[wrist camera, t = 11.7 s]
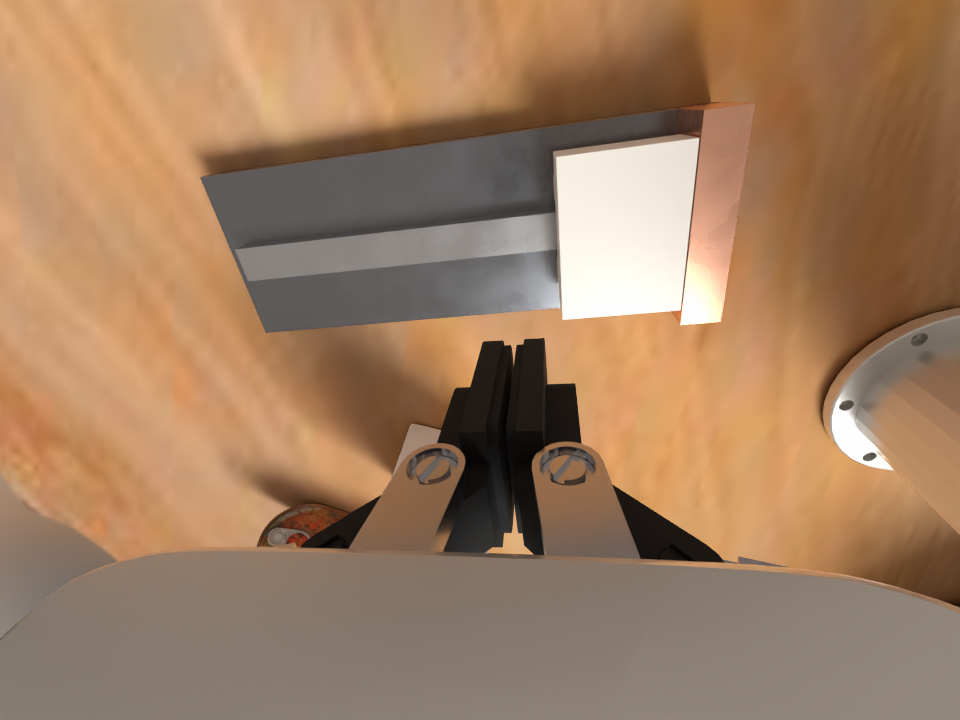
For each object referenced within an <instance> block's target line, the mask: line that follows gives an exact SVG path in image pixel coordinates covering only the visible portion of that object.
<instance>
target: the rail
mask: <svg viewBox="0 0 960 720" xmlns="http://www.w3.org/2000/svg"><path fill="white" fill-rule="evenodd" d="M755 105H756V103H704V104H697V105H690V106H683V107H676V108H669V109H662V110H655V111H649V112H642V113H635V114H628V115H621V116H614V117H607V118H600V119H593V120H586V121H579V122H572V123H565V124H558V125H551V126H544V127H537V128H530V129H523V130H516V131H509V132H502V133H495V134H488V135H481V136H474V137H468V138H461V139H454V140H447V141H440V142H433V143H426V144H419V145H412V146H405V147H398V148H391V149H384V150H377V151H370V152H363V153H356V154H349V155H342V156H335V157H328V158H321V159H314V160H307V161H300V162H293V163H287V164H280V165H273V166H266V167H259V168H252V169H245V170H238V171H231V172H224V173H217V174H212V175H208V176H204V177H200V178H201V180H202V183H203V185H204V187H205V190H206V192H207V195H208V197H209V199H210V202H211V204H212V206H213V209H214V211H215V213H216V216H217V218H218V221H219V223H220V225H221V228H222V230H223V232H224V235H225V237H226V239H227V242H228V244H229V247H230V249H231V251H232V254H233V256H234V258H235V261H236V263H237V265H238V268H239V270H240V272H241V275H242V277H243V280H244V282H245V284H246V287H247V289H248V291H249V294H250V296H251V298H252V301H253V303H254V306H255V308H256V310H257V313H258V315H259V317H260V320H261V322H262V324H263V327H264V329H265V331H266V333H269V332H281V331H293V330H305V329H316V328H328V327H340V326H352V325H364V324H376V323H387V322H399V321H411V320H423V319H435V318H446V317H458V316H470V315H482V314H494V313H506V312H517V311H529V310H541V309H553V308H561V307H560V302H559V281H558V276H557V233H556V210H555V200H554V186H553V174H554V164H553V151H560V150H567V149H575V148H582V147H589V146H597V145H604V144H612V143H619V142H626V141H634V140H641V139H649V138H656V137H663V136H671V135H678V134H683V135H688V136H692V137H697V138H699V146H698V155H697V164H696V173H695V183H694V192H693V201H692V210H691V220H690V229H689V238H688V247H687V257H686V266H685V275H684V284H683V294H682V303H681V310H679V311H671V312H672V313H673V315H674V316H675V318H676V319H677V320H678V322H679V323H680V325H686V324H699V323H712V322H721V316H722V310H723V304H724V298H725V291H726V285H727V279H728V273H729V267H730V260H731V254H732V248H733V242H734V235H735V229H736V223H737V217H738V211H739V204H740V198H741V192H742V186H743V179H744V173H745V167H746V161H747V154H748V148H749V142H750V136H751V130H752V123H753V117H754V111H755Z"/></svg>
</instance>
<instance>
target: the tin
mask: <svg viewBox="0 0 960 720" xmlns="http://www.w3.org/2000/svg"><path fill="white" fill-rule="evenodd" d="M348 514H350V513H347V512H344V511H341V510H338V509H335V508H332V507H329V506H326V505H322V504H302V505H298V506H294V507H292V508H289V509H287V510H285V511H283V512H282V513H280V514H279V515H277V516H276V517H275V518H274V519H273V520H271V521H270V523H269V524H268V525H267V526H266V528H265V529H264V530H263V532H262V534H261V536H260V538H259V541H258V544H257V547H274V546H279V545H285V544H290V543H295V544H296V546H297V548H300V547H301V545H302V544H303V543H304V542H305V541H307V540H308V539H309V538H311V537H312V536H313V535H315V534H316V533H318V532H320V531H321V530H323V529H325V528H326V527H328V526H330V525H331V524H333V523H335V522H337V521H338V520H340V519H342V518H343V517H345V516H347V515H348Z"/></svg>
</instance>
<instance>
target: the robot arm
mask: <svg viewBox="0 0 960 720" xmlns="http://www.w3.org/2000/svg"><path fill="white" fill-rule="evenodd" d="M823 422H824V428H825V430H826V432H827V434H828V436H829V438H830V439H831V440H832V441H833V442H834V444H835V445H836V446H837V447H838V448H839V449H840V451H842V452H843V453H844V454H845V455H847V456H848V457H849V458H850V459H852V460H854V461H856V462H858V463H860V464H863V465H866V466H870V467H874V468H878V469H887V470H895V471H896V472H897V473H898V474H899V475H900V476H901V477H902V478H903V479H904V480H905V481H906V482H907V483H908V484H909V485H910V486H911V487H912V488H913V489H914V490H915V491H916V492H917V493H918V494H919V495H920V496H921V497H922V498H923V499H924V500H925V501H926V502H927V503H928V504H929V505H930V506H931V507H932V508H933V509H934V510H935V511H936V512H937V513H938V514H939V515H940V516H941V517H942V518H943V519H944V520H945V521H946V522H947V523H948V524H949V525H950V526H951V527H952V528H953V529H954V530H955V531H956V532H957V533H958V534H959V535H960V308H955V309H950V310H945V311H941V312H936V313H932V314H929V315H926V316H924V317H921V318H918V319H915V320H912V321H910V322H908V323H905V324H903V325H901V326H899V327H897V328H895V329H893V330H891V331H889V332H887V333H886V334H884V335H883V336H881V337H880V338H878V339H876V340H875V341H873V342H872V343H870V344H869V345H868V346H866V347H865V348H864V349H863V350H862V351H860V352H859V353H858V354H857V355H856V356H854V357H853V358H852V359H851V360H850V361H849V362H848V364H847V365H846V366H845V367H844V368H843V369H842V370H841V371H840V372H839V374H838V375H837V377H836V379H835V380H834V382H833V383H832V385H831V386H830V388H829V391H828V393H827V396H826V399H825V401H824V407H823ZM514 504H515V512H516V520H517V528H518V533H523V539H524V546H525V547H527V548H528V549H529V550H530V551H531V552H532V553H533V554H534V555H525V554H495V553H485V552H487V551H488V550H489V549H491V548H492V547H503V537H504V533H512V526H513V514H514ZM0 720H960V608H959V607H957V606H954V605H952V604H949V603H946V602H944V601H941V600H938V599H935V598H931V597H928V596H925V595H922V594H919V593H916V592H912V591H909V590H906V589H903V588H900V587H896V586H893V585H889V584H884V583H880V582H876V581H871V580H867V579H863V578H858V577H854V576H849V575H844V574H837V573H830V572H824V571H817V570H810V569H802V568H790V567H785V566H780V565H776V564H771V563H766V562H762V561H757V560H752V559H748V558H743V557H738V560H737V563H736V562H731V561H727V560H722V558H721V557H720V556H719V555H718V554H717V553H716V552H715V551H714V550H712V549H711V548H710V547H709V546H707V545H706V544H705V543H703V542H701V541H700V540H698V539H697V538H695V537H694V536H692V535H690V534H689V533H687V532H686V531H684V530H683V529H681V528H679V527H678V526H676V525H675V524H673V523H672V522H670V521H669V520H667V519H665V518H664V517H662V516H661V515H659V514H658V513H656V512H654V511H653V510H651V509H650V508H648V507H647V506H645V505H643V504H642V503H640V502H639V501H637V500H636V499H634V498H633V497H631V496H629V495H628V494H626V493H625V492H623V491H622V490H620V489H618V488H617V487H615V486H614V485H612V483H611V480H610V477H609V475H608V472H607V470H606V467H605V464H604V462H603V460H602V458H601V457H600V455H599V454H598V453H597V452H596V451H595V450H593V449H592V448H590V447H588V446H586V445H584V444H581V435H580V425H579V415H578V406H577V396H576V386H575V384H547V369H546V353H545V340H544V338H540V339H524V345H517V347H516V354H515V362H514V365H513V355H512V347H511V345H506V346H504V342H503V341H486V342H483V344H482V347H481V351H480V354H479V358H478V362H477V365H476V369H475V372H474V376H473V380H472V383H471V387H465V388H456V389H455V390H454V393H453V396H452V399H451V402H450V405H449V408H448V411H447V414H446V417H445V420H444V423H443V426H442V429H441V432H440V435H439V438H438V441H437V443H435V444H430V445H425V446H423V447H420V448H418V449H416V450H414V451H413V452H412V453H410V454H409V455H407V457H406V458H405V459H404V460H403V461H402V463H401V464H400V466H399V468H398V469H397V471H396V472H395V474H394V476H393V477H392V479H391V481H390V482H389V484H388V485H387V487H386V489H385V490H384V492H383V494H382V495H380V496H379V497H377V498H375V499H374V500H372V501H370V502H369V503H367V504H365V505H364V506H362V507H360V508H359V509H357V510H355V511H353V512H352V513H350V514H348V515H347V516H345V517H343V518H342V519H340V520H338V521H337V522H335V523H333V524H331V525H330V526H328V527H326V528H325V529H323V530H321V531H320V532H318V533H316V534H315V535H313V536H312V537H311V538H309V539H308V540H307V541H305V542H304V543H303V544H302V545H301V547H300V548H297V546H296V544H295V543H290V544H285V545H279V546H274V547H197V548H185V549H175V550H166V551H160V552H155V553H150V554H145V555H140V556H136V557H132V558H129V559H126V560H122V561H119V562H116V563H113V564H109V565H106V566H103V567H101V568H98V569H96V570H93V571H91V572H89V573H86V574H84V575H82V576H80V577H78V578H76V579H74V580H72V581H70V582H68V583H67V584H65V585H64V586H62V587H61V588H59V589H58V590H57V591H55V592H54V593H53V594H51V595H50V596H48V597H47V598H46V599H45V600H43V601H42V602H41V603H40V604H39V605H38V606H36V607H35V608H34V609H33V610H32V611H30V612H29V613H28V614H27V615H26V616H25V617H23V618H22V619H21V620H20V621H19V622H17V623H16V624H15V625H14V626H13V627H12V628H11V629H10V630H9V631H8V632H7V633H5V634H4V635H3V636H2V637H1V638H0Z"/></svg>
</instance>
